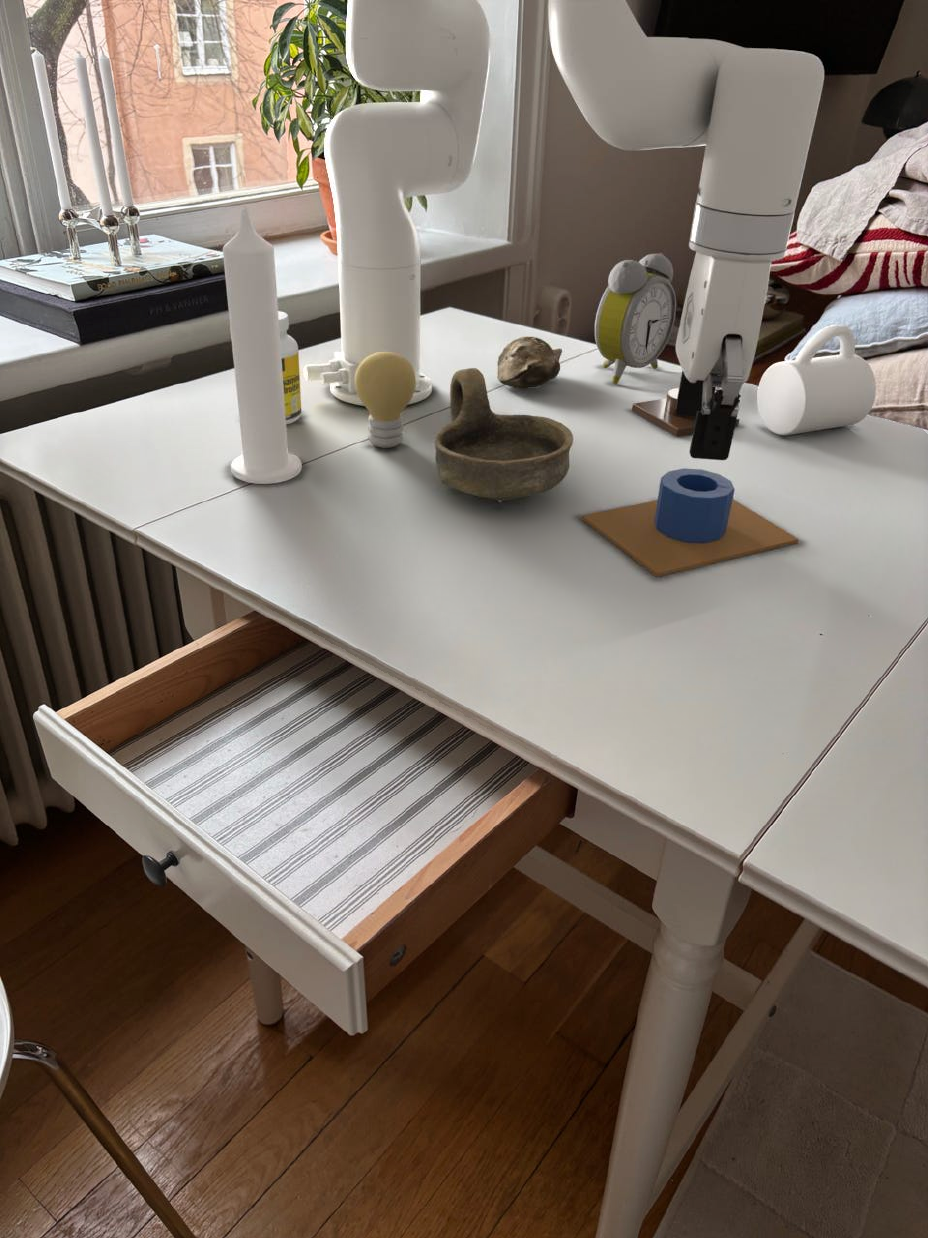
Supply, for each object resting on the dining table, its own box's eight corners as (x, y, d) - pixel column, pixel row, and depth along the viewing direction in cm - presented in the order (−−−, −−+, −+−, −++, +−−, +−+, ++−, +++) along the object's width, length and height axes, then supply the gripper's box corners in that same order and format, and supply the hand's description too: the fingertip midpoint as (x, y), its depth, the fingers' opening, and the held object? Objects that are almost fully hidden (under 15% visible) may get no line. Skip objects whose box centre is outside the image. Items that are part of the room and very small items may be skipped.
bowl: (468, 532, 87) (472, 429, 82) (399, 461, 101) (399, 368, 95) (597, 510, 92) (609, 411, 87) (516, 444, 106) (522, 355, 100)
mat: (656, 577, 82) (657, 573, 82) (581, 518, 91) (581, 515, 90) (798, 542, 88) (799, 539, 88) (714, 491, 97) (715, 487, 97)
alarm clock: (620, 389, 123) (635, 267, 115) (577, 376, 126) (589, 257, 118) (669, 370, 130) (686, 254, 122) (627, 358, 134) (641, 245, 126)
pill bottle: (249, 430, 107) (239, 325, 100) (241, 410, 112) (231, 309, 106) (307, 425, 108) (301, 321, 102) (296, 405, 114) (290, 306, 107)
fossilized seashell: (531, 381, 116) (582, 378, 123) (519, 328, 116) (570, 327, 123) (488, 399, 122) (539, 395, 129) (476, 348, 121) (527, 347, 128)
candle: (308, 459, 100) (294, 202, 87) (292, 486, 94) (273, 216, 81) (243, 454, 101) (218, 198, 88) (222, 481, 95) (192, 211, 82)
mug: (750, 421, 114) (771, 319, 108) (817, 411, 118) (840, 312, 112) (797, 446, 108) (822, 340, 102) (866, 435, 112) (894, 331, 105)
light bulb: (425, 439, 106) (426, 349, 101) (398, 459, 101) (397, 366, 96) (375, 428, 108) (373, 340, 103) (345, 447, 103) (342, 356, 98)
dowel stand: (676, 437, 109) (687, 368, 105) (631, 411, 116) (640, 345, 112) (738, 426, 113) (751, 359, 108) (690, 401, 119) (701, 337, 115)
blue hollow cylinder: (683, 548, 85) (691, 502, 83) (641, 518, 90) (647, 474, 88) (739, 535, 88) (748, 490, 86) (695, 507, 93) (703, 464, 90)
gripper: (678, 207, 83) (647, 397, 92) (708, 253, 68) (668, 473, 78) (765, 213, 82) (725, 403, 92) (814, 260, 68) (761, 480, 77)
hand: (699, 435), depth 85 cm, fingers open, 9 cm apart
